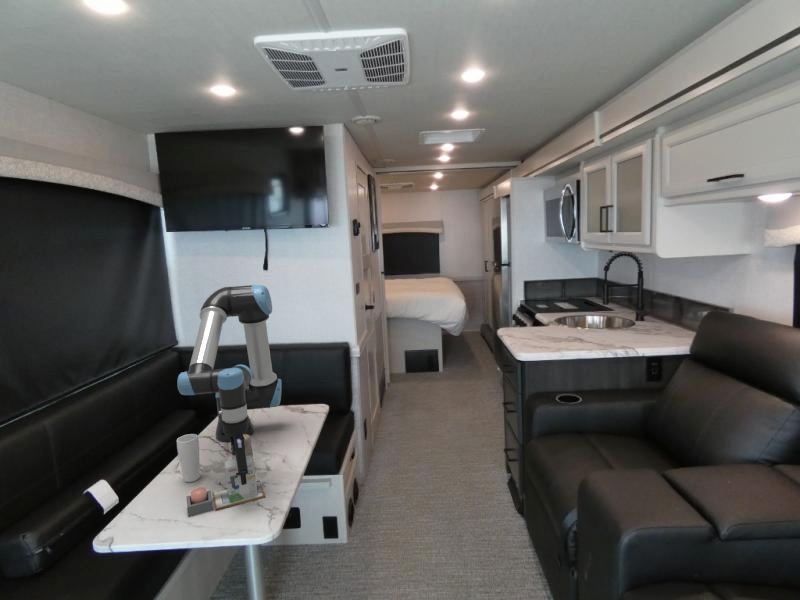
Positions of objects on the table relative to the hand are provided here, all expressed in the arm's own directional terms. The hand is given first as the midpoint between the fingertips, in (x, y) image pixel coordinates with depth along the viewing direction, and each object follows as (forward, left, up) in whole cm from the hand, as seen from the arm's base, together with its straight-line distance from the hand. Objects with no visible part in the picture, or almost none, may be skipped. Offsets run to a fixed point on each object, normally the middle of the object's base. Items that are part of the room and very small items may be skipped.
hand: (241, 483), depth 148 cm
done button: (-1, -13, -3) cm, 13 cm away
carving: (-20, +3, -5) cm, 21 cm away
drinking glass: (-22, -14, -5) cm, 27 cm away
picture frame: (-2, -1, -5) cm, 5 cm away
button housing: (-1, -12, -5) cm, 13 cm away
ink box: (0, 0, -4) cm, 4 cm away
